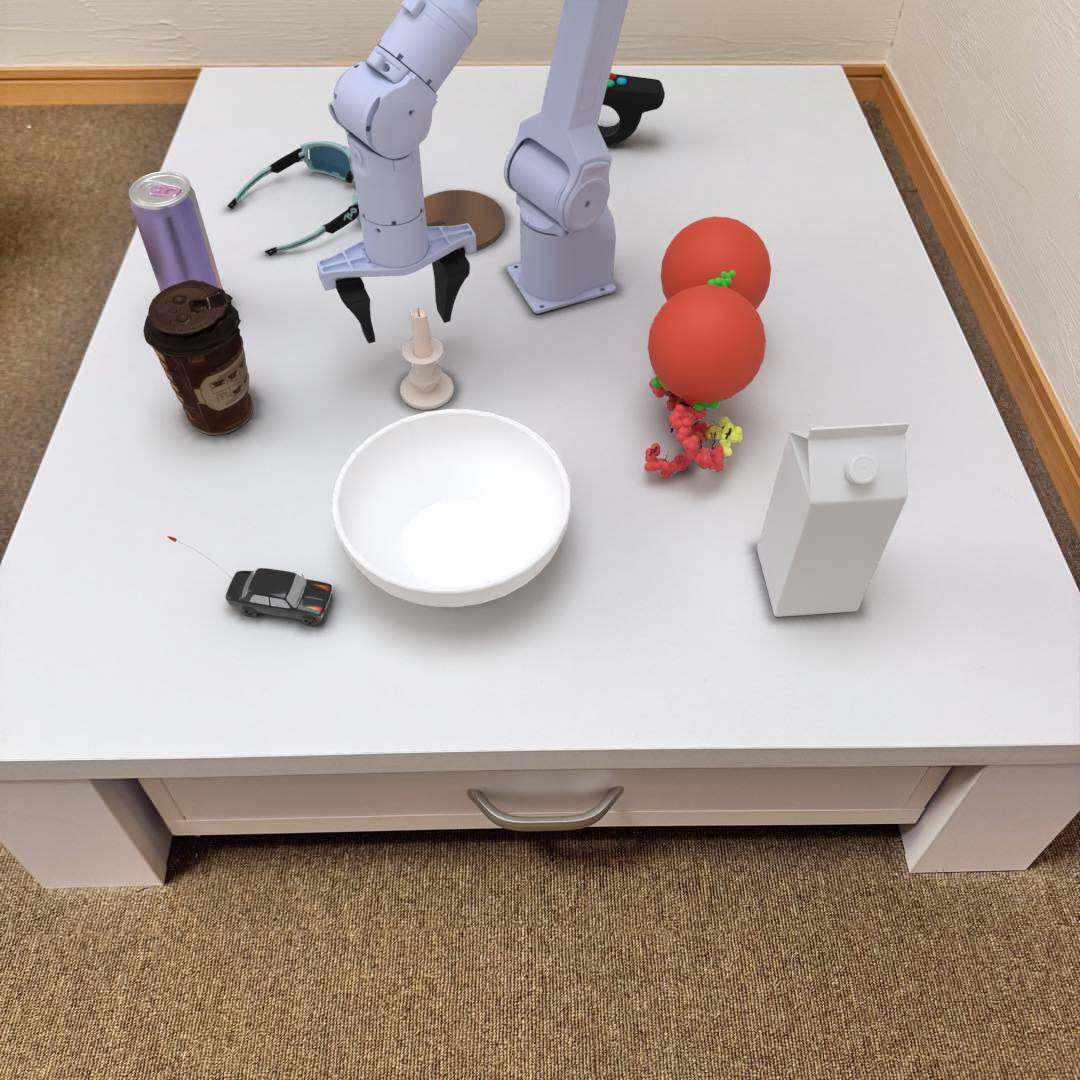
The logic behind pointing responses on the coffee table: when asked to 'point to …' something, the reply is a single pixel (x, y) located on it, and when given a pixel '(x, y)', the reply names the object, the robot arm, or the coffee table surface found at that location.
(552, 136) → the robot arm
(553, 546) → the bowl
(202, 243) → the beverage can
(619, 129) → the controller
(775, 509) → the milk carton
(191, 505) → the coffee table surface
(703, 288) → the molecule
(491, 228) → the coaster
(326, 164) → the sunglasses
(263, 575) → the toy car
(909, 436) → the coffee table surface
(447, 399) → the candle
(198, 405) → the coffee cup
